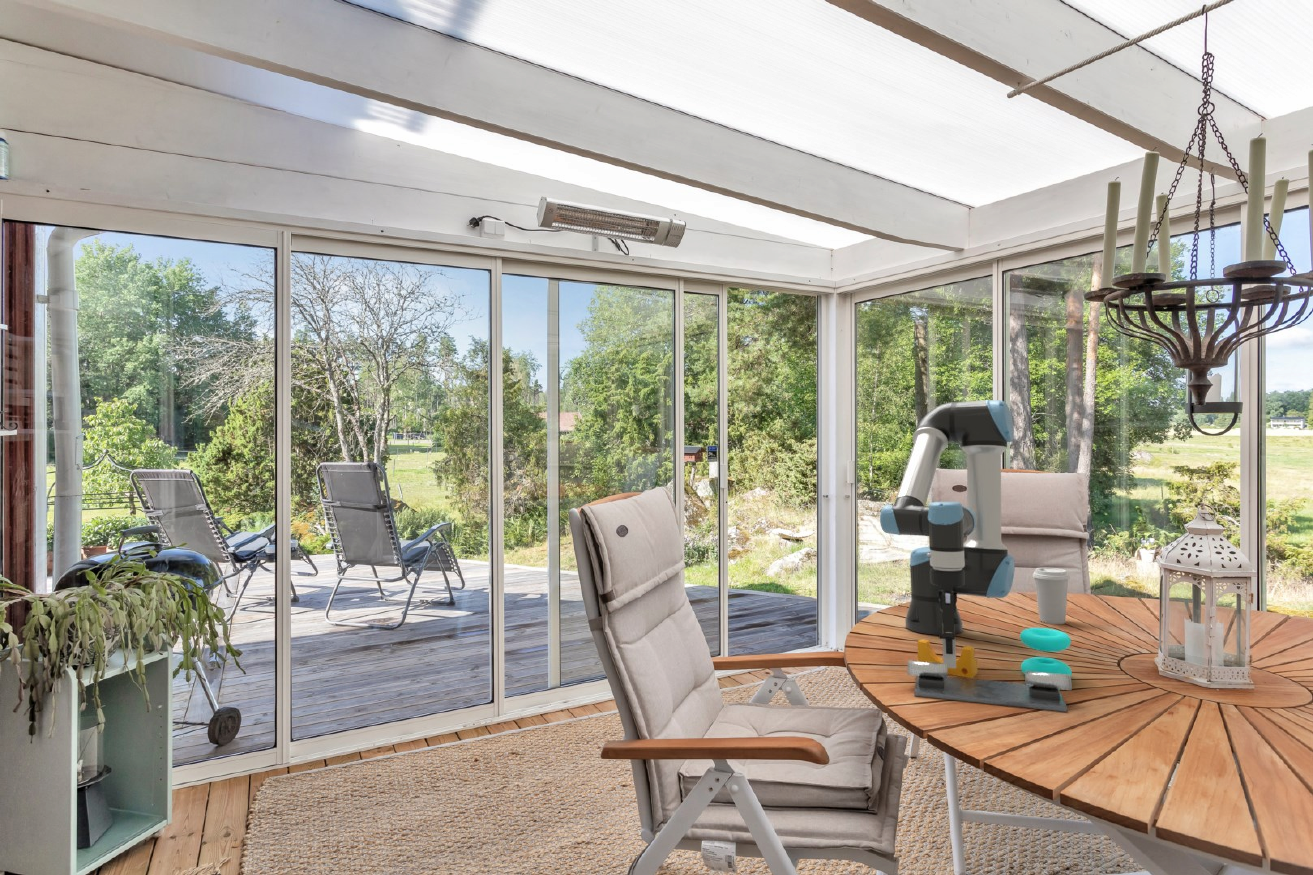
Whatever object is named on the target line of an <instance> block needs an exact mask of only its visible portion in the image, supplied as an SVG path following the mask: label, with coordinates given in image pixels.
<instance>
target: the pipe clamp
mask: <svg viewBox="0 0 1313 875" xmlns="http://www.w3.org/2000/svg"><path fill="white" fill-rule="evenodd" d="M930 641H931V640H928V639H923V638H921V639H919V640H918V641H916V642H917V661H920V662H932V663H943V657H940V656H939V655H937V654H936V652H934V650H933V648H932V646H931V642H930ZM975 656H976V655H975V647H973V646H967V645H965V646H963V647H962V648H961V654H960V656H959V657H958V658H957V657H956V668H947V674H948V675H952V676H953V675H954V676H958V677H962V678H969V679H974V677H975V676H976V675H977V674H978V660H977V659H976V657H975Z"/></svg>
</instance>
